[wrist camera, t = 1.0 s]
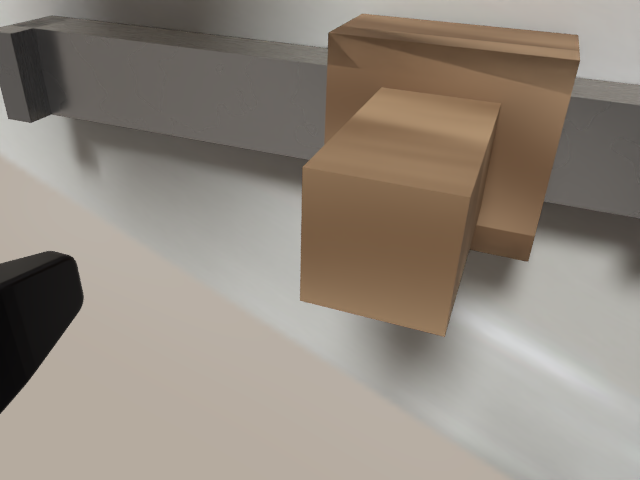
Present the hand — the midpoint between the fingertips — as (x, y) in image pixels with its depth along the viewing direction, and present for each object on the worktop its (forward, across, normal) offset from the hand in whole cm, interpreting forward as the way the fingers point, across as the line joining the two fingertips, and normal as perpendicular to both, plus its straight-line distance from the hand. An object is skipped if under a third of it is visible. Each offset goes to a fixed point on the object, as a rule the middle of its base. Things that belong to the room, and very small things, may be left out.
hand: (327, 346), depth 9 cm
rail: (+12, +4, 0) cm, 12 cm away
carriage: (+12, 0, 0) cm, 12 cm away
